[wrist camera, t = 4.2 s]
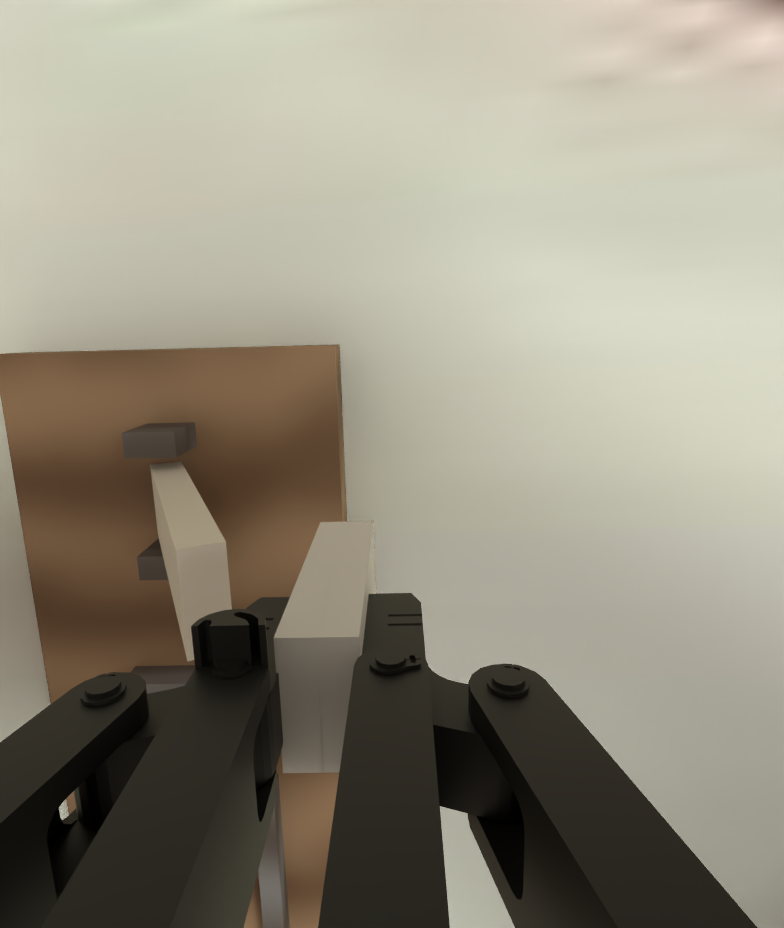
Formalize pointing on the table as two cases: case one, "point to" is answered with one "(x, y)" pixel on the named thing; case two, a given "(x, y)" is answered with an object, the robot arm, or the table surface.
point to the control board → (136, 536)
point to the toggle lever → (189, 549)
